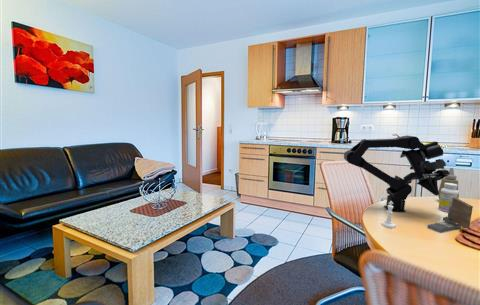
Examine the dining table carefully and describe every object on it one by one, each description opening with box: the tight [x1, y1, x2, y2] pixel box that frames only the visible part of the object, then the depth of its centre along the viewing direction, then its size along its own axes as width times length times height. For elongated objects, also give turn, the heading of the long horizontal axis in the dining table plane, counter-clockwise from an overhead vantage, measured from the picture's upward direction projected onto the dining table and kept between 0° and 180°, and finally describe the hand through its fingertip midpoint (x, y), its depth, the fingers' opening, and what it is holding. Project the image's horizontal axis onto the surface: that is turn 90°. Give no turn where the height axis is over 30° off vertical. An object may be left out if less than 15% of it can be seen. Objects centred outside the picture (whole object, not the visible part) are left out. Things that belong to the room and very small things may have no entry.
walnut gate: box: [447, 196, 474, 229], centre depth 99 cm, size 2×12×9 cm, turn 166°
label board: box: [427, 216, 462, 234], centre depth 100 cm, size 8×18×1 cm, turn 111°
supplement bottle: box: [438, 183, 460, 213], centre depth 116 cm, size 7×7×13 cm
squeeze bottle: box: [437, 167, 459, 201], centre depth 128 cm, size 8×8×18 cm
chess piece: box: [380, 201, 396, 229], centre depth 98 cm, size 5×5×10 cm
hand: (437, 195), depth 103 cm, fingers closed
